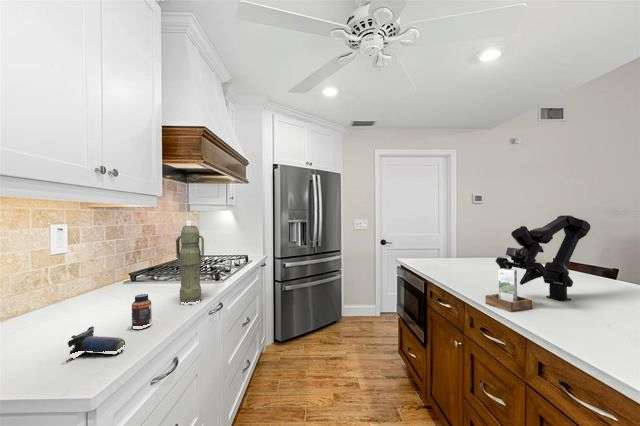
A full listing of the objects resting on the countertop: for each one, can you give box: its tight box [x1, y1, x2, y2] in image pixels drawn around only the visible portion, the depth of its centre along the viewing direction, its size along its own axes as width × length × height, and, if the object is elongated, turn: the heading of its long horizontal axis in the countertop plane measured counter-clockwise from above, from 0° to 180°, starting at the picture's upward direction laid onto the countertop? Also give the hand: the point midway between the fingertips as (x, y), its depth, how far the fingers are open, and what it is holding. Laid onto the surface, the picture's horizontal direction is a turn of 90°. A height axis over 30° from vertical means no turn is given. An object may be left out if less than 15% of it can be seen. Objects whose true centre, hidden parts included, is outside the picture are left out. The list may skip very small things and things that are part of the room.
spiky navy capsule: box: [67, 326, 126, 356], centre depth 82 cm, size 9×8×12 cm
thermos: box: [175, 225, 205, 303], centre depth 130 cm, size 9×12×35 cm
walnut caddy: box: [485, 293, 533, 313], centre depth 117 cm, size 11×11×4 cm
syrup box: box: [497, 267, 518, 302], centre depth 117 cm, size 6×6×14 cm
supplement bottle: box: [131, 293, 153, 327], centre depth 101 cm, size 6×6×11 cm
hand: (509, 281), depth 117 cm, fingers open, 9 cm apart
